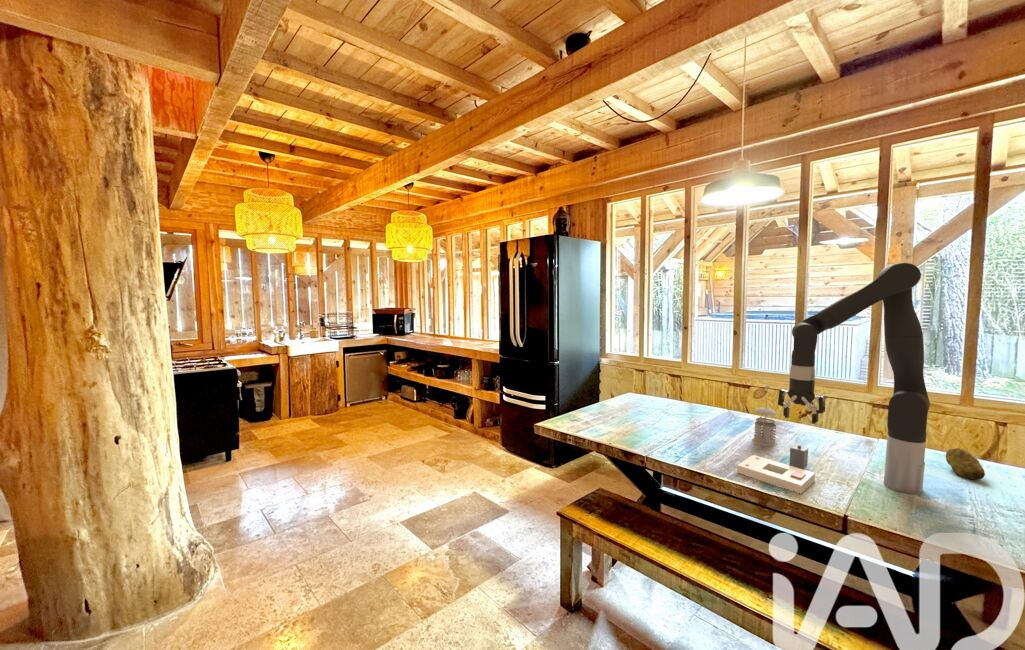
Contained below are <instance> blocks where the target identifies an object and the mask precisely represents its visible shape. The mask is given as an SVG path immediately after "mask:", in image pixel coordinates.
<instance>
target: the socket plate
mask: <svg viewBox="0 0 1025 650" xmlns="http://www.w3.org/2000/svg"><path fill="white" fill-rule="evenodd" d="M737 472H738V473H741V474H744V475H747V476H749V477H748V478H750V477H752V478H751V479H753V478H755V479H754V480H756V479H758V480H757V481H759V480H761V481H760V482H763V481H764V482H763V483H766V482H767V483H766V484H769V483H770V484H769V485H772V484H773V485H772V486H775V485H777V486H776V487H778V486H780V487H779V488H781V487H783V488H782V489H784V488H786V489H785V490H787V489H789V490H788V491H790V490H791V491H790V492H793V491H795V492H794V493H796V492H797V493H796V494H799V493H800V494H799V495H802V494H803V493H804V492H805V491H806V490H807V489H808V488H809V487H810V486H811V485H812V484H814V482H815V481H816V473H815V472H813V471H810V470H808V469H807V470H806V469H804V470H803V469H800V468H796V467H793V466H790V465H789V464H786V463H783V462H779V461H775V460H773V459H768V458H765V457H762V456H758V455H755V454H752V455H751V456H748V458H746V459H744V460H743V461H741V462H740V463H738V464H737V465H736V473H737ZM738 473H737V474H738ZM741 474H740V475H741ZM744 475H743V476H744ZM747 476H746V477H747ZM806 488H807V489H806ZM804 490H805V491H804ZM803 491H804V492H803ZM802 492H803V493H802ZM801 493H802V494H801Z"/></svg>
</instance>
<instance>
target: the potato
mask: <svg viewBox="0 0 1025 650" xmlns="http://www.w3.org/2000/svg"><path fill="white" fill-rule="evenodd" d="M945 460H946V463H947V464H948V465H949V466H950V467H951V470H952V471H953V472H954V473H955V474H957V475H959V476H961V477H964V478H965V479H971V480H974V481H976V480H978V481H980V480H982V479H983V478H984V477H985V476H986V473H985V470H984V468H983V466H982V465H981V463H980V461H979V460H978V458H977V457H975V456H973V455H972V454H971V453H970V451H967V450H965V449H963V448H950V449H948V450H947V451H946V453H945Z"/></svg>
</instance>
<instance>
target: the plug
mask: <svg viewBox="0 0 1025 650" xmlns="http://www.w3.org/2000/svg"><path fill="white" fill-rule="evenodd" d="M789 448H790V449H789V464H788V465H790V466H793V467H796V468H800V469H803V470H806V468H807V467H808V461H809V460H808V459H809V457H808V456H809V448H808V447H805V446H802V445H796V444H794V445H792V446H791V447H789Z"/></svg>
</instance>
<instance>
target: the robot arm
mask: <svg viewBox="0 0 1025 650" xmlns="http://www.w3.org/2000/svg"><path fill="white" fill-rule="evenodd" d="M921 278H922V272H921V269H920V268H919V267H918V266H916V264H913V263H909V262H897V263H892V264H889V265H887V266H885V267H883V268H882V270H881V271H880V272H879V274H878V277H877V278H876V279H874V280H873V281H872V282H870V283H869V284H867V285H865V286H864V287H862V288H860V289H858V290H857V291H854V292H853V293H850V294H849V295H846V296H845V297H843V298H840V299H839V300H837V301H835V302H833V303H831V304H830V305H828V306H827V307H824V308H823V309H821V310H820V311H819V312H817V313H816V314H814V315H811V316H809V317H807V318H805V319H803V320H801V321H799V322H798V323H796V324H795V325H794V326H793V327H792V330H791V335H792V337H793V350H792V351H791V361H790V362H791V363H790V369H789V386H788V388H789V389H788V390H785V389H784V388H783V389H780V390H778V398H777V406H780V407H782V409H783V414H782V415H783V416H784V419H785V418H786V419H789V418H790V410H791V408H790V406H791V405H793V404H794V405H800V406H803V407H804V406H805V407H806V406H807V409H809V410H810V411H811V412H812V413H811V424H813V425H815V424H816V423H818V421H819V414H823V413H825V412H826V397H825V395H821V396H820V395H816V394H815V383H816V367H815V365H816V363H815V362H816V348H817V343H818V335H819V334H820V335H821V334H822V333H823V332H825V331H827V330H831V329H834V328H836V327H838V326H839V325H841V324H843V323H844V322H846V321H848V320H850V319H851V318H853V317H855V316H856V315H858V314H860V313H861V312H863V311H864V310H866V309H868V308H870V307H871V306H873V305H875V304H877V303H878V302H881V301H882V303H883V304H882V305H883V328H884V330H883V332H884V343H885V344H884V345H885V351H886V355H887V358H888V362H889V364H890V367H891V370H892V374H893V394H892V396H891V397H890V398H889V401H888V406H887V407H888V408H887V422H886V423H887V424H886V425H887V426H886V427H887V437H886V448H885V462H884V463H885V464H884V474H883V484H884V485H885V487H888V488H889V489H891V490H894V491H897V492H900V493H906V494H912V495H918V496H921V494H922V492H923V489H924V477H925V467H926V462H925V455H926V454H925V453H926V444H927V424H928V412H929V410H930V407H931V403H930V399H929V395H928V391H927V387H926V383H925V378H924V377H925V376H924V367H925V366H924V365H925V349H924V348H925V344H924V336H923V335H924V334H923V328H922V325H921V322H920V320H919V317H918V315H917V313H916V311H915V307H914V303H913V302H914V301H913V288H914V287H916V285H917V284H918V283H919V282H920V280H921ZM785 396H788V398H789V399H788V400H787V401H786V402H785V398H786V397H785ZM814 400H816V402H818V408H817V405H816V404H815V403H814Z"/></svg>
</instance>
